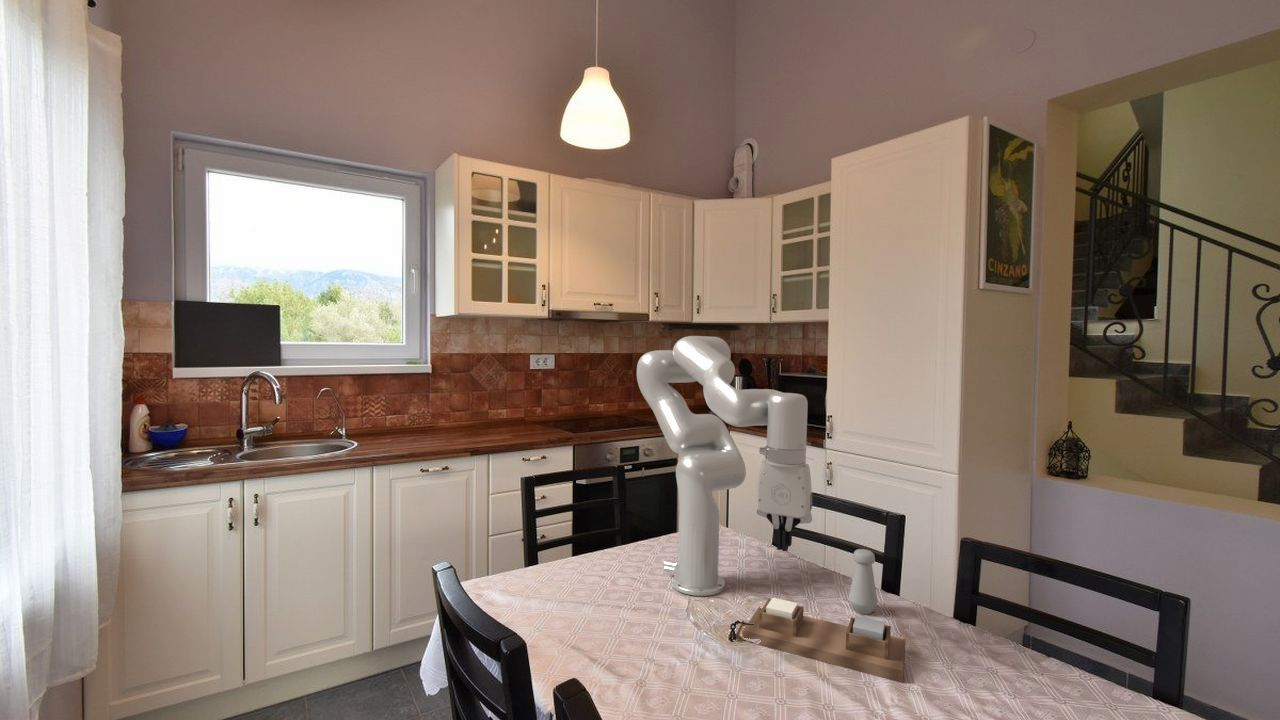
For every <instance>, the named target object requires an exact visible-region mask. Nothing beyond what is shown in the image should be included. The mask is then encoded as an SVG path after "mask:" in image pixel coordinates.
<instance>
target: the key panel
mask: <svg viewBox="0 0 1280 720" xmlns="http://www.w3.org/2000/svg"><path fill="white" fill-rule="evenodd" d="M771 599H772V598H768V599H767V601H766V603H765V604H764V605H763V608H762V609H761V608H760V607H759V606H758V608H757V609H756V611H755V612H754V613H753V614H752V617H751V618H750V619H749V620H748V622H747V624H748V623H754V625H747V624H746V625H745V627H743V629H742V638H743V637H744V638H748V639H749V638H750V639H760V640H761V642H760V643H759V645H758V646H762V647H766V648H770V649H773V650H777V651H782V652H785V653H789V654H793V655H796V656H800V657H804V658H807V659H811V660H816V661H820V662H823V663H827V664H831V665H833V666H838V667H843V668H846V669H850V670H853V671H856V672H857V671H858V672H862V673H864V674H870V675H872V676H877V677H879V678H880V677H881V678H884V679H888V680H892V681H895V682H899V683H903V677H904V670H905V669H904V668H905V660H906V659H905V656H906V648H907V647H906V645H907V644H906V642H907V639H905V638H901V637H897V636H893V635H891V632H892V631H891V629H892V626H891V625H887V624H885V631H884V640H879V639H875V638H870V637H866V636H862V635H858V634H853V625H854V621H855V618H856V617H850V620H849V622H848V625H845V624H840V623H836V622H832V621H829V620H828V621H827V620H823V619H819V618H815V617H810V616H806V615H804V609H805V608H804V607H805V606H802V605H799V604H798V605H797V615H796V616H795V618H794V619H790V618H785V617H781V616H777V615H773V614H768V613H766V607H767V605H768V604H769V602H770V601H771Z"/></svg>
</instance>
